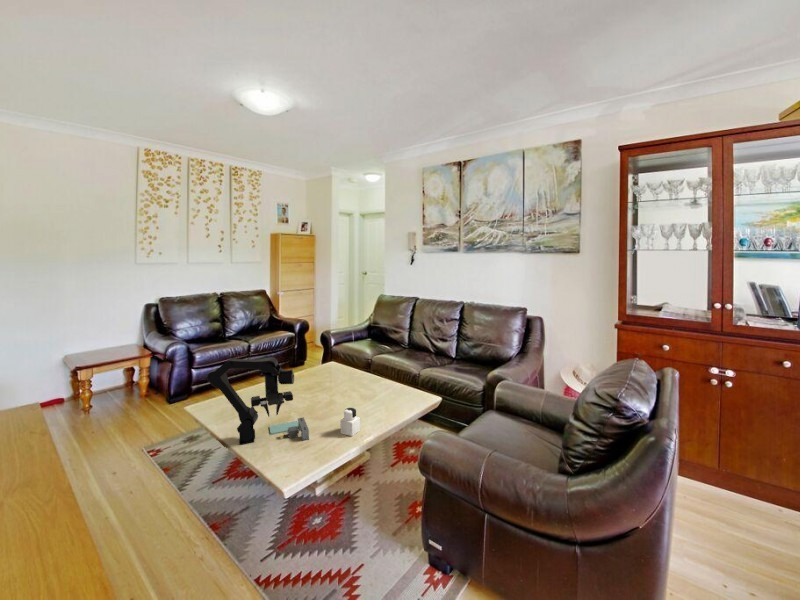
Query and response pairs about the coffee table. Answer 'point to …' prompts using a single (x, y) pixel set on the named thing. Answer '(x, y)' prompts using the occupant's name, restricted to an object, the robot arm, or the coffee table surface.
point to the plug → (291, 433)
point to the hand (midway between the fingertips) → (272, 415)
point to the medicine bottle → (350, 422)
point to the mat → (282, 427)
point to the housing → (303, 429)
